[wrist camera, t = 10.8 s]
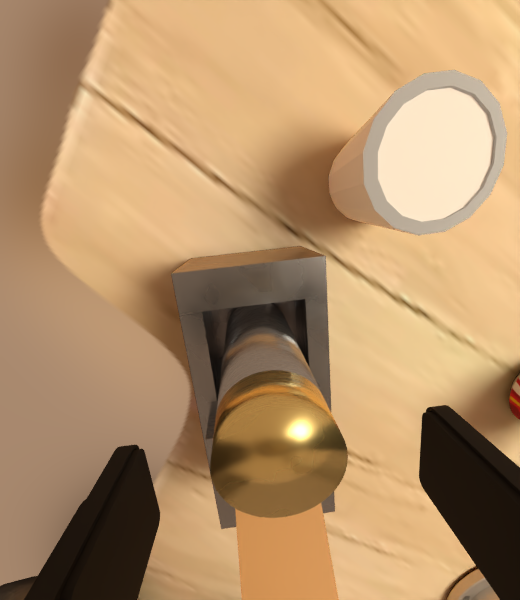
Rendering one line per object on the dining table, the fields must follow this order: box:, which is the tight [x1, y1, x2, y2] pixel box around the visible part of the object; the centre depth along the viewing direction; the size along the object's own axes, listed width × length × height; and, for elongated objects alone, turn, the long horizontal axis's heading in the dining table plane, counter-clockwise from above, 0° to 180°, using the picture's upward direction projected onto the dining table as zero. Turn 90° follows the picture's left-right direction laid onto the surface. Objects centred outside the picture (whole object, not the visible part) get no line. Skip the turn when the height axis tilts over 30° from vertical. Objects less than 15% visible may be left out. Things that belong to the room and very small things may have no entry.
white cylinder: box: [328, 70, 507, 235], centre depth 16 cm, size 7×7×7 cm
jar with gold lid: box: [210, 303, 348, 518], centre depth 14 cm, size 4×4×11 cm
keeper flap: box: [235, 503, 339, 600], centre depth 14 cm, size 9×4×1 cm
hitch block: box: [171, 246, 335, 529], centre depth 19 cm, size 18×8×8 cm, turn 6°
